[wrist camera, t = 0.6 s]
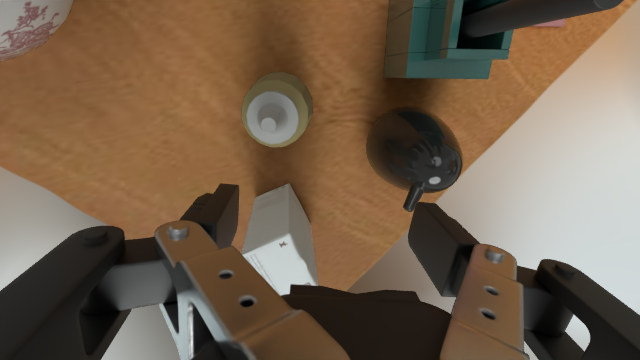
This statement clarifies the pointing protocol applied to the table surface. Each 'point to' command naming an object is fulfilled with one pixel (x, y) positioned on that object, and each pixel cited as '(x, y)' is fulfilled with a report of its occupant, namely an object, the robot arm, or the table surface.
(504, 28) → the stepped grey rod
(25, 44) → the chamber pot
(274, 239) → the cosmetic box
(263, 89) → the squeeze bottle
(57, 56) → the table surface
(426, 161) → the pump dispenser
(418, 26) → the green square vase
